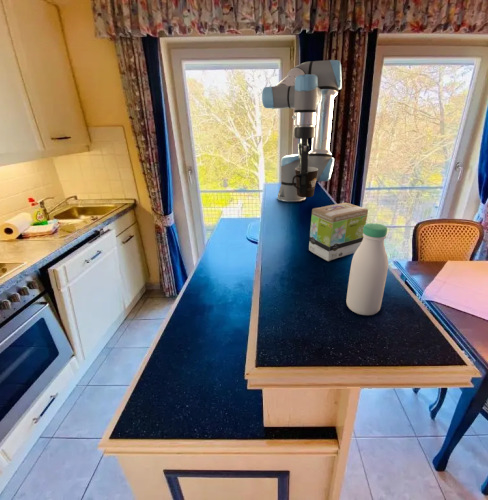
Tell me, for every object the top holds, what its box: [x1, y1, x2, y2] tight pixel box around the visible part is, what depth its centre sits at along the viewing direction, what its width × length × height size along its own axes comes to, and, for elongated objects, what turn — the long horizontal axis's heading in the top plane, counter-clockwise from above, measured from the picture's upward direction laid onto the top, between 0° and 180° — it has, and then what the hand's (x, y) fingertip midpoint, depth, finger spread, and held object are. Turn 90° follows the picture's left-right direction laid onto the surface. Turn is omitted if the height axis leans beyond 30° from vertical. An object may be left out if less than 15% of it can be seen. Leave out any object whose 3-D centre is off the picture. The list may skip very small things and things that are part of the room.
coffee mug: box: [292, 167, 318, 198], centre depth 107 cm, size 12×9×10 cm
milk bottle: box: [345, 222, 389, 316], centre depth 61 cm, size 8×8×20 cm
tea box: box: [308, 201, 369, 262], centre depth 90 cm, size 15×10×15 cm, turn 122°
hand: (302, 190), depth 109 cm, fingers closed on coffee mug, 7 cm apart
